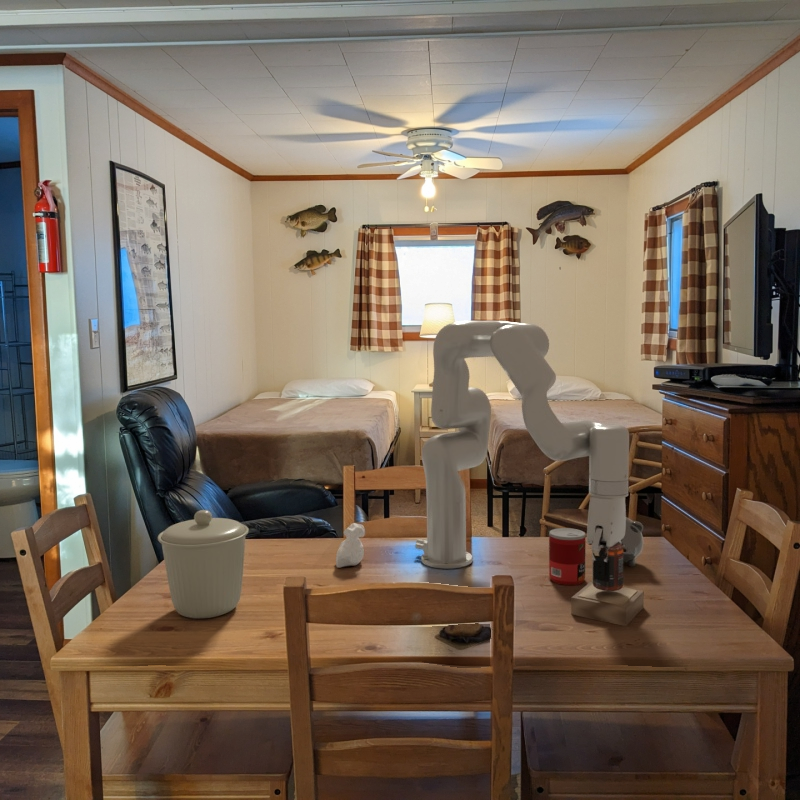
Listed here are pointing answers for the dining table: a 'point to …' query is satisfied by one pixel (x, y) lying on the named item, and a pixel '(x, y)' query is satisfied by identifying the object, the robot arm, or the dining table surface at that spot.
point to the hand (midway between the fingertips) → (607, 574)
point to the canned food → (567, 556)
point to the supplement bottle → (613, 569)
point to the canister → (204, 564)
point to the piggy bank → (632, 541)
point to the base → (607, 604)
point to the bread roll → (464, 635)
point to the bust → (351, 546)
